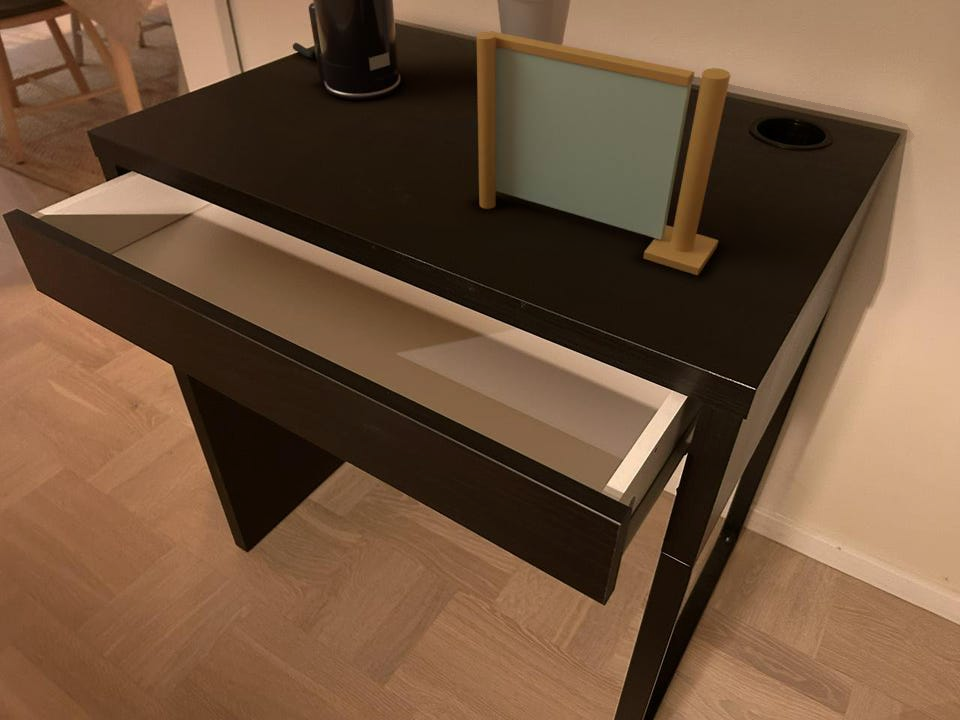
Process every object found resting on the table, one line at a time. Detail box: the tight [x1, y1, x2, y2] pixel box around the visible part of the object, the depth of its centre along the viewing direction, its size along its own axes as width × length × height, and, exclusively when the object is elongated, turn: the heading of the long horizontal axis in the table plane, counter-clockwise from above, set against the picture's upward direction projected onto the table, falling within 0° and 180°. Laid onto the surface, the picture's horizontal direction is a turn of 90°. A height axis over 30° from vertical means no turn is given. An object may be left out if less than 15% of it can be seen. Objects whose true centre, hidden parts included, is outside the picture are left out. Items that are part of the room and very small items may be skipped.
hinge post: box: [642, 67, 731, 276], centre depth 61 cm, size 5×5×16 cm
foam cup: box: [497, 0, 571, 45], centre depth 91 cm, size 10×9×13 cm
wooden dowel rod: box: [476, 31, 497, 210], centre depth 67 cm, size 2×2×16 cm
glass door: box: [490, 30, 695, 240], centre depth 65 cm, size 18×1×15 cm, turn 59°
